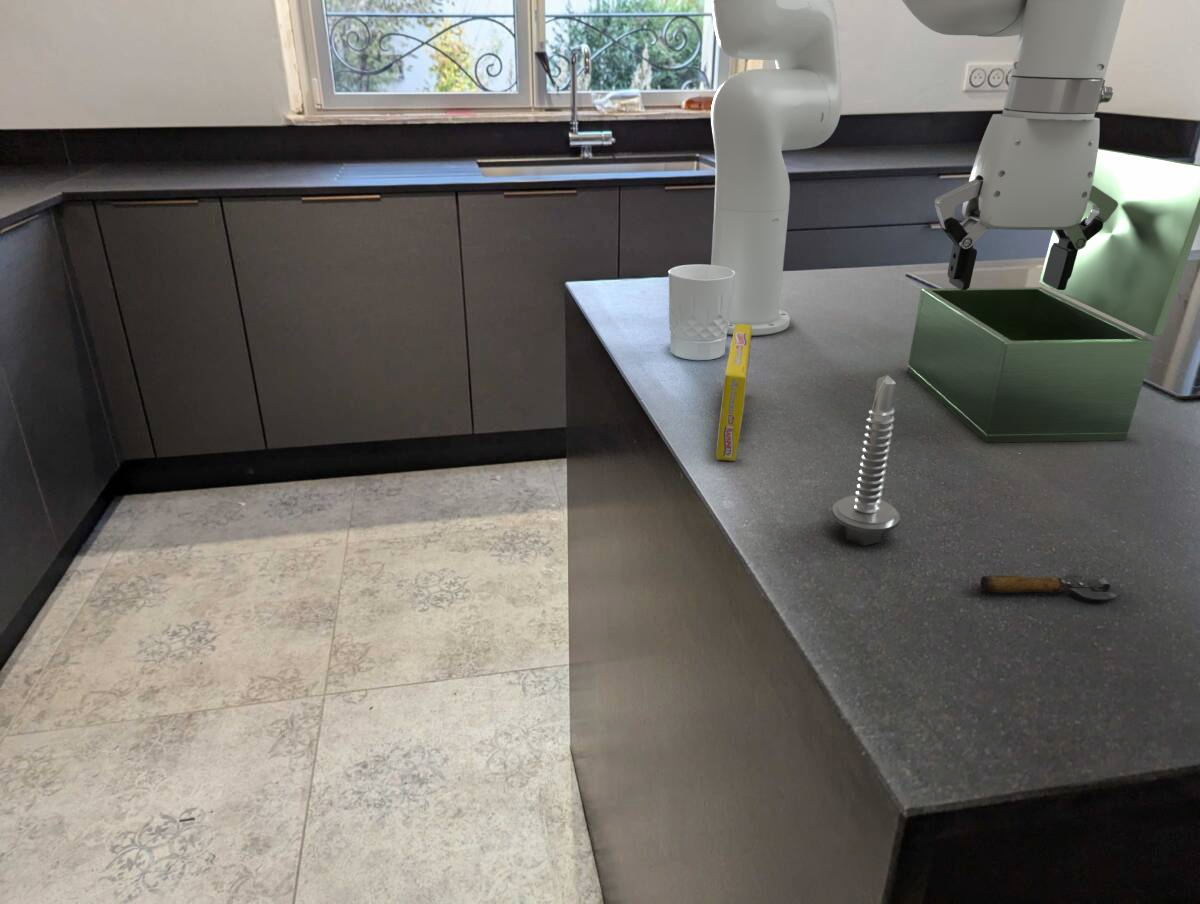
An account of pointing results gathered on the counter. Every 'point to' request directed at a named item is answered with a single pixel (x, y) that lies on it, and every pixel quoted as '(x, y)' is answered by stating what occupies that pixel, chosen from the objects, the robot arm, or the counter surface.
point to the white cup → (700, 310)
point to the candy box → (734, 393)
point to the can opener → (1047, 585)
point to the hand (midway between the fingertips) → (1005, 286)
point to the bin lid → (1137, 239)
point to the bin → (1027, 364)
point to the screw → (872, 476)
